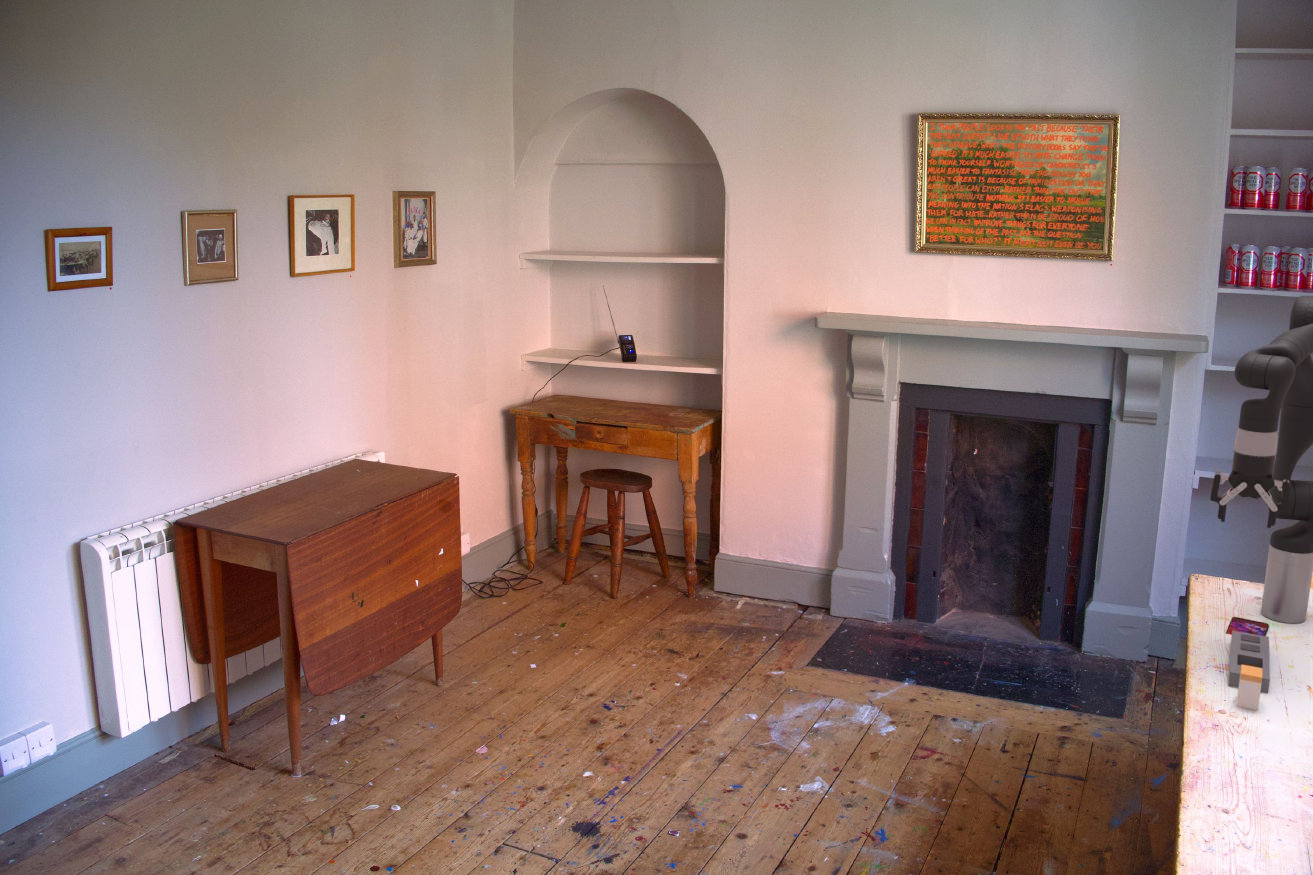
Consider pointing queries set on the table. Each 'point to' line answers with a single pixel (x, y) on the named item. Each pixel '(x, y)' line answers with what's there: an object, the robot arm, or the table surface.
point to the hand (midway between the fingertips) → (1245, 523)
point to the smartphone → (1247, 626)
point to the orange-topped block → (1249, 687)
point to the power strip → (1249, 657)
